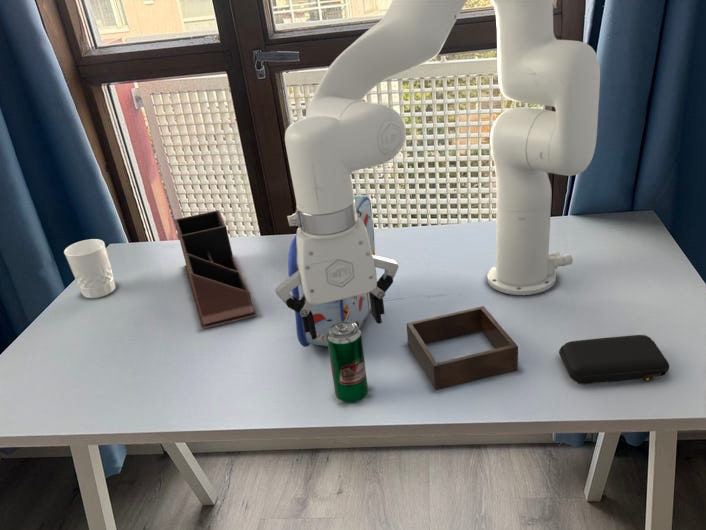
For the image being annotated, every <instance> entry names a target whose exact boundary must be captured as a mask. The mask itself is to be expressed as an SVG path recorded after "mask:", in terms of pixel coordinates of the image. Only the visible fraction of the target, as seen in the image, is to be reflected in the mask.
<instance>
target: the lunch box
mask: <svg viewBox="0 0 706 530" xmlns="http://www.w3.org/2000/svg"><path fill="white" fill-rule="evenodd" d="M354 200H355V207H356V215H357V217H359V218H360V219H361V220H362V221H363V222H364V225H365V227H366V230H367V234H368V237H369V241H370V245H371V250H372V255H375V256H376V243H375V228H374V227H375V226H374V219H373V212H372V210H373V209H372V204H371V199H370V197H368V195H366V194H357V195H355V194H354ZM296 236H297V233H295V235H294V237H293V238H292V240H291V242H290V245H289V249H288V257H287V259H288V260H287V265H288V266H287V268H288V269H287V271H288V278H289V277H290V276H292V275H293V274H294V273H296V272H297V271H298V270H299V269H298V260H297V246H296ZM375 271H376V272H377V267H375ZM376 277H377V274H376ZM377 278H378V277H377ZM369 293H370V292H369ZM369 293H367V294H363V295H359V296H355V297H351V298H347V299H342V300H338V301H334V302H329V303H325V304H319V305H314V306H313V307H312V309H311V312H312V314H313V318H314V323H315V329H316V334H317V338H316V339H313V340H312V337H311V335H310V332H307V333H305V330H304V326H303V321H302V316H301V315H300V313H298V312H296V311H294V315H295V328H296V338H297V340H298V343H299V344H300V345H301V346H302V347H303V348H306V347H309V346H310V345H315V346H322V347H328V343H327V334H328V329H329V327H330V326H331V325H333V324H335V323H337V322H342V321H349V322H353V323H355V324H356V325H357V326H358V329H359V330H360V328H361V327H362V325H363V324H364V323H365V322H366V320H367V319H368V318H369V313H370V311H371V304H370V296H369ZM302 294H303V289H302V286H301V284H300V285H298V286H297V287H296V288H294V289H293V290H292V291H291V295H292V296H294V297H295V298H297V299H299V298H300V297H301V295H302Z"/></svg>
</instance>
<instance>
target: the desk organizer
mask: <svg viewBox="0 0 706 530" xmlns="http://www.w3.org/2000/svg"><path fill="white" fill-rule="evenodd" d="M223 218H224V217H223V216H222V213H221V212H220V210H219V209H217V210H212V211H209V212H203V213H199V214H194V215H190V216H189V215H188V216H185V217H180V218H176V219H173V220H174V225H175V229H176V233H177V236H178V240H179V242H180V243H179V244H180V247H181V250H182V251H181V252H182V254H183V258H184V262H185V265H184V270H185V272H186V277H187V280H188V283H189V287H190V291H191V294H192V298H193V301H194V305H195V308H196V313H197V316H198V319H199V323H200V327H201V330H206V329H209V328H212V327H217V326H222V325H224V324H229V323H232V322H238V321H242V320H245V319H250V318H254V317H257V316H258V314H257V312H256V309H255V306H254V304H253V300H252V297H251V292H250V290H249V288H248V286H247V284H246V282H245V280H244V278H243V275H242V273H241V271H240V268H239V266H238V263H237V262H236V258H235V257H234V253H233V249H232V245H231V242H230V237H229V233H228V226H226V223H225V220H224V219H223Z"/></svg>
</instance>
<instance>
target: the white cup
mask: <svg viewBox="0 0 706 530" xmlns="http://www.w3.org/2000/svg"><path fill="white" fill-rule="evenodd" d="M63 254H64V256H65V258H66V261H67V263H68V265H69V268H70V270H71V273H72V275H73V277H74V280H75V281H76V284H77V285H78V287H79V290H80V292H81V295H82V296H83V297H84V298H86V299H99V298H103V297H105V296H107V295H109V294H112V293H113V292H114V291H115V290H116V283H115V279H114V273H113V270H112V265H111V262H110V258H109V254H108V251H107V247H106V244H105V241H103V240H102V239H99V238H90V239H84V240H80V241H77V242H74V243H72V244H70V245H68V246H67V247H66V248H65V249H64V250H63Z"/></svg>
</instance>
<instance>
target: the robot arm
mask: <svg viewBox="0 0 706 530" xmlns="http://www.w3.org/2000/svg"><path fill="white" fill-rule="evenodd" d="M467 1H468V0H392V1H391V2H390V4H389V7H388V9H387V11H386V12H385V14H384V15H383V17H382V18H381V20H379V21H378V22H377V23H375V24H374V25H373V26H372V27H370V28H369V29H368V30H366V31H365V32H364V33H363V34H361V35H360V36H359V37H358V38H357V39H356V40H355V41H354V42H352V43H351V44H350V45H349V46H348V47H347V48H346V49H344V50H343V51H341V53H340V54H339V55H338V56H337V57H336V58H335V59H334V60H333V62H331V64H330V65H329V67H328V68H327V70H326V71H325V73H324V74H323V76H322V78H321V80H320V82H319V84H318V86H317V87H316V89H315V91H314V94H313V96H312V97H311V99H310V102H309V104H308V107H307V110H306V113H305V118H301V119H299V120H296V121H293V123H290V124H289V126H288V127H287V128H286V129H285V132H284V143H285V149H286V155H287V160H288V165H289V171H290V177H291V181H292V187H293V192H294V197H295V203H296V206H295V209H296V210H295V213H292V215H287V223H288V226H289V227H293V226H294V227H298V228H297V229H296V234H297V236H296V246H297V260H298V269H299V270H298V271H297V272H296V273H294V274H293V275H292V276H290V277H289V276H288V277H287V278H286V279H285V280H284V281H282V282H281V283H280V284H279V285H277V286H276V287H275V292H276V295H277V297H279V299H280V300H281V301H283V303H284V304H285V305H286V306H287V308H289V309H291V310H292V311H294V312H295V311H296V312H298V313H300V315H301V316H302V321H303V326H304V330H305V333H307V332H310V335H311V337H312V340H313V339H316V338H317V334H316V329H315V323H314V318H313V314H312V312H311V309H312V307H313V306H314V305H319V304H325V303H329V302H334V301H338V300H342V299H347V298H351V297H355V296H359V295H363V294H367V293H369V292H370V293H369V296H370V304H371V308H370V311H371V315H372V317H373V319H374V321H375V323H376V324H382V323H383V319H382V315H385V305H384V298H385V297H386V292H387V291H388V290H389V288H390V287H391V286H392V284H393V283H394V278H395V277H396V274H397V272H398V270H399V263H397V262H396V260H394V259H390V258H386V257H383V256H378V255H376V254H375V255H372V250H371V245H370V241H369V237H368V234H367V230H366V227H365V225H364V222H363V221H362V220H361V219H360V218H359V217H357V215H356V207H355V200H354V195H355V194H354V186H353V178H352V174H353V172H355V171H360V170H365V169H370V168H373V167H378V166H381V165H384V164H387V163H389V162H390V161H391V160H393V159H394V158H396V156H397V155H398V154H399V153H400V152H401V150H402V149H403V147H404V144H405V142H406V137H407V128H406V124H405V121H404V119H403V117H402V116H401V115H400V114H399V112H398V111H397V110H395V109H393V108H392V107H390V106H389V105H386V104H381V103H376V102H369V101H363V100H364V99H365V98H366V96H367V95H368V94H369V93H370V92H371V91H372V90H373V89H375V88H376V87H377V86H378V85H380V84H381V83H382V82H384V81H386V80H388V79H390V78H392V77H394V76H397V75H399V74H401V73H405V72H407V71H410V70H412V69H414V68H415V69H416V68H417V67H419V66H422V65H424V64H426V63H428V62H430V61H432V60H433V59H435V58H436V57H437V56H438V55H439V54H440V52H441V50H442V48H443V47H444V45H445V43H446V41H447V39H448V37H449V35H450V33H451V31H452V29H453V27H454V25H455V24H456V22H457V20H458V18H459V16H460V14H461V12H462V11H463V8H464V6H465V5H466V3H467ZM490 1H491V3H492V6H493V8H494V13H495V23H496V52H497V53H496V54H497V79H498V87H499V90H500V92H501V94H502V95H503V96H504V98H506V99H508V100H510V101H513V102H517V103H523V104H532V105H538V106H539V105H540V106H546V107H553V108H554V109H555V111H554V110H549V109H542V108H535V107H533V108H532V107H526V106H525V107H524V106H523V107H521V106H520V107H511V108H509V109H506V110H504V111H503V112H502V113H500V114H499V115H498V116H497V117H496V119H495V120H494V122H493V124H492V127H491V131H490V139H489V140H490V151H491V155H492V159H493V165H494V171H495V184H496V185H495V186H496V187H495V188H496V200H495V201H496V202H495V205H496V206H495V209H496V213H495V217H496V218H495V236H496V237H495V254H496V255H495V265H494V266H492V268H490V269H489V271H488V273H487V282H488V284H489V285H490V287H491V288H493V290H496V291H498V292H500V293H502V294H508V295H512V296H531V295H537V294H540V293H543V292H546V291H547V290H549V289H551V288H552V287H553V286H554V285H555V284H556V282H557V272H556V271H555V270H558V267H565V266H568V265H572V264H573V262H574V260H573V256H572V255H571V253H568V254H564V255H560V252H559V251H554V252H550V237H551V235H550V234H551V233H550V232H551V215H552V214H551V213H552V195H553V193H552V185H551V181H550V178H549V176H548V173H549V174H554V175H560V176H567V177H568V176H569V177H571V176H578V175H580V174H581V173H583V172H585V171H586V170H587V169H588V167H589V166H590V165H591V163H592V160H593V158H594V154H595V152H596V146H597V137H598V124H599V121H598V120H599V104H600V86H601V66H600V61H599V57H598V55H597V53H596V51H595V49H594V48H593V46H591V45H589V44H588V43H586V42H583V41H580V40H572V39H571V40H570V39H558V38H557V37H556V36H555V33H554V3H553V0H490ZM375 268H376V269H381V270H384V273H383V274H382V275H381V276H380V277H379V279H378V277H376V275H377V270H376V271H375ZM300 284H301V286H302V289H303V294H302V295H301V297H300V298H299V299H297V298H295V297H294V296H293V295H292V294H291V292H292V290H293V289H294V288H296V287H297V286H298V285H300Z"/></svg>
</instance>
